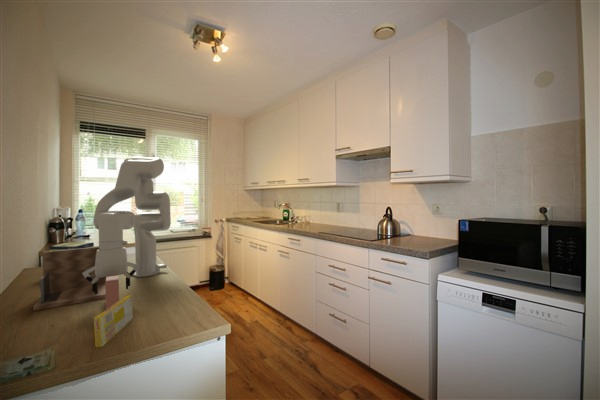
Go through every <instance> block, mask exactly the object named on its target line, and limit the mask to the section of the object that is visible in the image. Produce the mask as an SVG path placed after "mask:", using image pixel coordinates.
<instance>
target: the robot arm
mask: <svg viewBox="0 0 600 400" xmlns="http://www.w3.org/2000/svg"><path fill="white" fill-rule="evenodd" d="M164 169H165V164H164V161H163V160H162V159H161V158H160V157H154V156H153V157H150V156H148V157H143V156H132V157H127V158H125V159H124V161H122V163H121V164H120V167H119V170H118V175H117V178H116V182H115V186H114V188H113V189H111V190H110V191H109V192H107V193H106V194H105V195H104V196H103V197H102V198H101V199H100V200H98V203H97V204H96V207H95V210H94V214H93V218H92V219H93V222H92V223H93V227H94V228H95V229H97V230H98V247H99V250H97V251H96V257H95V266H93V267H91V268H89V269H87V270H86V271H84V272H83V273H82V274H83V275H84V277H85V278H86V280H88V281H89V282H91V283H92V291H93V292H95V294H97V293H98V282H97V280H98V279H99V278H100V277H113V276H122V275H124V276H125V290H129V287H130V286H131V277H133V278H134V277H135V278H144V277H150V276H156V275H158V274H160V272H161V269H166V268H168V267H167V266H168V265H167V264H162V263H161V264H158V262H157V239H156V236H155V235H154V234H153V232H163V231H168V230H169V229H170V228H171V223H172V222H171V219H172V218H171V201H170V195H169V194H168V193H167V192H165V191H154V190H155V189H154V182H153V181H154V180H153V179H156V178H158V177H160V176H161V175H162V174H163V172H164ZM133 197H134V204H135V205H134V206H135V207H136V209H137V210H139V211H159V212H138V213H136V214H135V213H134V212H132V211H128V210H111V211H110V209H111V208H112V207H113V206H115V205H117V204H118V203H120V202H123V201H125V200H128V199H131V198H133ZM132 228H133V233H134V248H135V249H134V252H135V254H134V255H135V263H133V262H130V261H128V254H127V253H128V252H127V248H126V247H124V246H126V245H128V241H127V240H124V235H123V234H124V230H131V229H132ZM128 267H131V268H132V270H131V271H130V272H128ZM94 270H95V277H94V278H92V277H91V276H89V274H88V273H90V272H92V271H94Z"/></svg>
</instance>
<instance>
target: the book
mask: <svg viewBox="0 0 600 400" xmlns="http://www.w3.org/2000/svg"><path fill="white" fill-rule="evenodd" d="M119 277H120V275H116V276H109V277H106V283H105V293H106V298H105V310H106V309H108V308H109V307H111V306H112V305H113V304H115V303H116V302H118V301H119V300H120V281H119V279H120V278H119Z"/></svg>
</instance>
